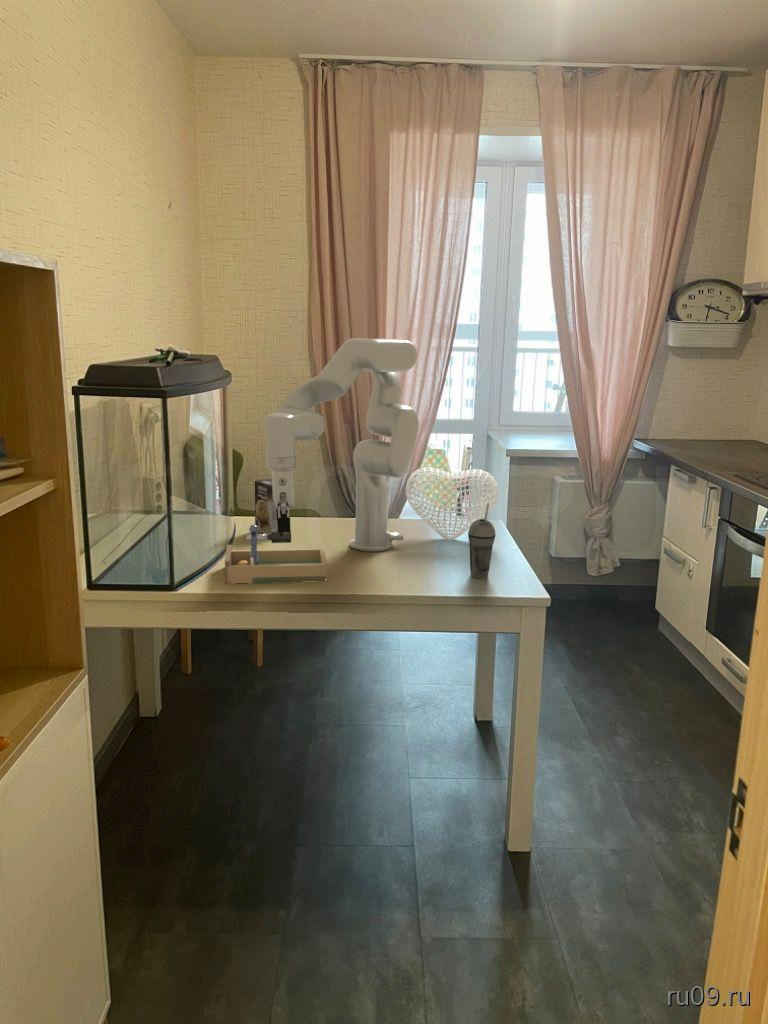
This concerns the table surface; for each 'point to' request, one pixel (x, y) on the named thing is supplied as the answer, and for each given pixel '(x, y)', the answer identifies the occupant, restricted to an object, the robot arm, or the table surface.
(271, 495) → the coffee box
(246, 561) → the foosball ball
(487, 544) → the beverage cup
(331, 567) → the table surface
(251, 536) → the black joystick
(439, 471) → the heart
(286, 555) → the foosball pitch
